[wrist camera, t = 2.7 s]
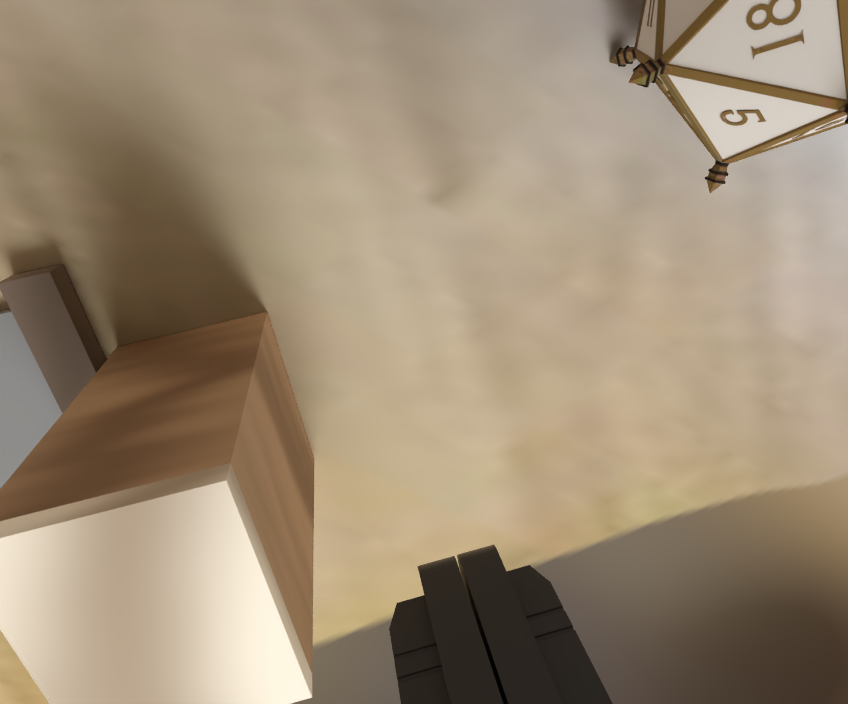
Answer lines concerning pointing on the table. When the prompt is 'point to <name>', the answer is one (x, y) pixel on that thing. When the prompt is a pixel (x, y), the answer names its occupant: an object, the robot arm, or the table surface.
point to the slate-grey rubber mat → (21, 399)
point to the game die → (745, 70)
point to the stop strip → (54, 329)
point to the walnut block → (167, 530)
